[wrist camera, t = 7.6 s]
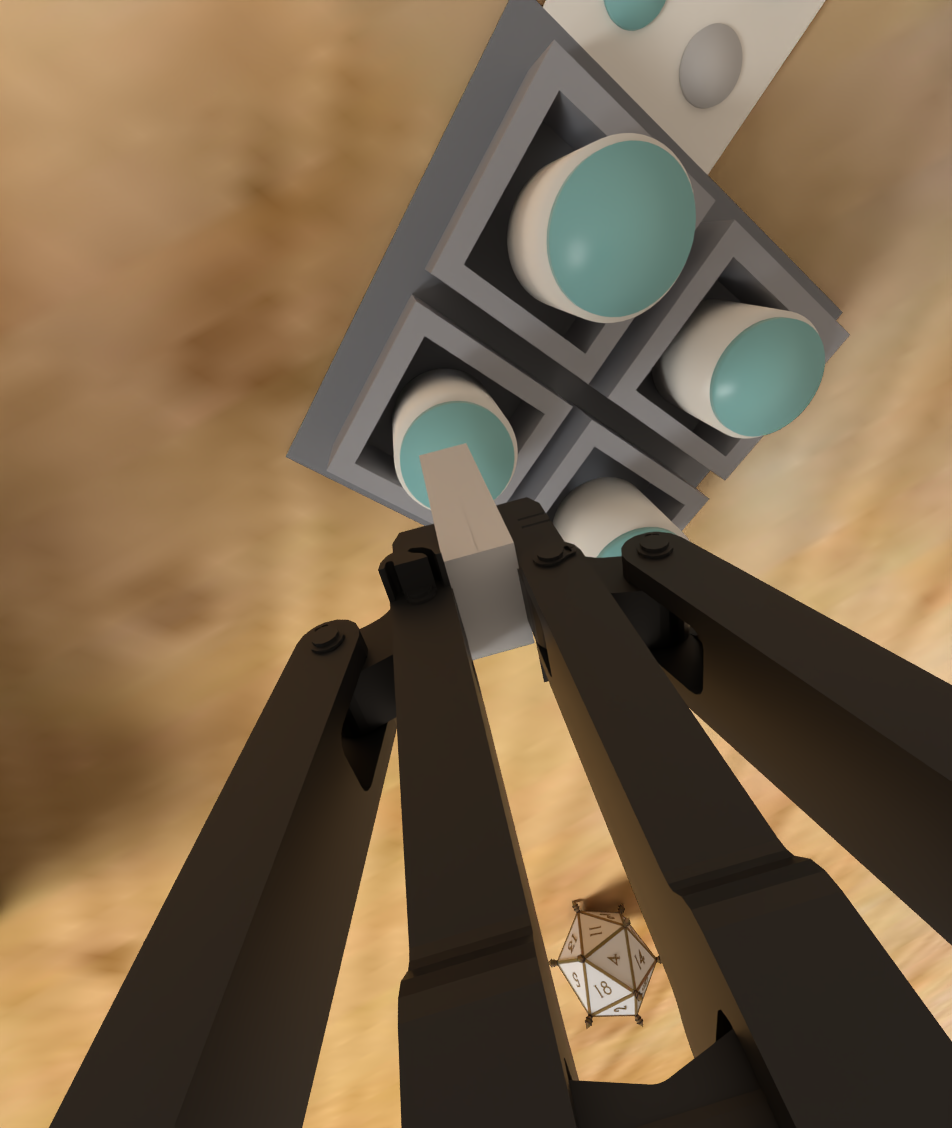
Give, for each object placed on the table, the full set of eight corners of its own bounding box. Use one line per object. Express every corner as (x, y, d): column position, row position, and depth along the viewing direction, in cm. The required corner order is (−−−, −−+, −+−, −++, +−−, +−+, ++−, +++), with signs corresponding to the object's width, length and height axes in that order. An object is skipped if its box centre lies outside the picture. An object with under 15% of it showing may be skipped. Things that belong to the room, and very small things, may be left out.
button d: (373, 441, 23) (371, 484, 19) (425, 346, 21) (435, 371, 17) (461, 488, 24) (476, 538, 20) (515, 404, 23) (544, 439, 19)
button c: (482, 259, 18) (510, 264, 14) (558, 122, 17) (615, 84, 13) (580, 332, 20) (630, 355, 16) (657, 214, 18) (735, 206, 14)
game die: (578, 859, 51) (644, 912, 42) (633, 918, 52) (708, 983, 43) (515, 941, 48) (569, 1018, 39) (574, 1002, 49) (641, 1091, 40)
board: (287, 453, 24) (273, 484, 21) (515, -13, 17) (543, -68, 14) (591, 605, 31) (614, 645, 28) (836, 311, 24) (901, 321, 21)
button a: (631, 374, 23) (684, 403, 19) (702, 275, 21) (777, 283, 17) (700, 426, 25) (763, 462, 21) (771, 338, 23) (855, 358, 19)
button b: (533, 540, 24) (563, 600, 20) (593, 459, 23) (639, 506, 19) (605, 578, 26) (646, 641, 22) (665, 505, 24) (722, 558, 20)
